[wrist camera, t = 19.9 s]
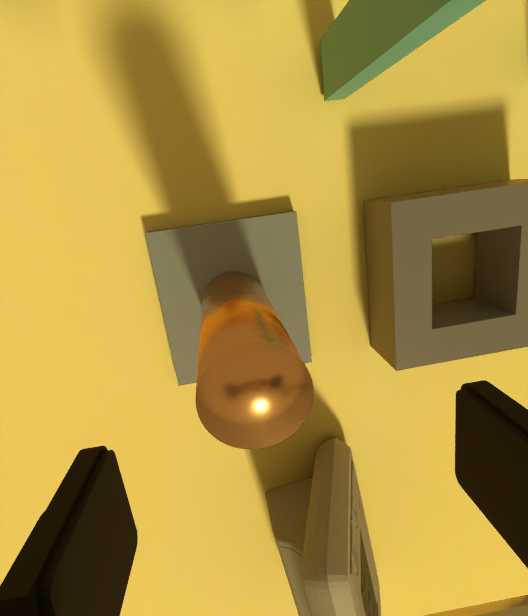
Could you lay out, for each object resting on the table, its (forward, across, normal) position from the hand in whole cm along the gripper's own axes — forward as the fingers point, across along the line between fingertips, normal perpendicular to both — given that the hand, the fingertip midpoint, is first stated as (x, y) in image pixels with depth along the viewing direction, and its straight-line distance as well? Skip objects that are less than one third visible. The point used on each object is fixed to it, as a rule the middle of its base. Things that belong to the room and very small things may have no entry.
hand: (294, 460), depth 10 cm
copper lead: (+15, +1, 0) cm, 15 cm away
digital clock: (+16, -4, +19) cm, 25 cm away
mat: (+16, +1, 0) cm, 16 cm away
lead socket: (+16, -13, 0) cm, 21 cm away
